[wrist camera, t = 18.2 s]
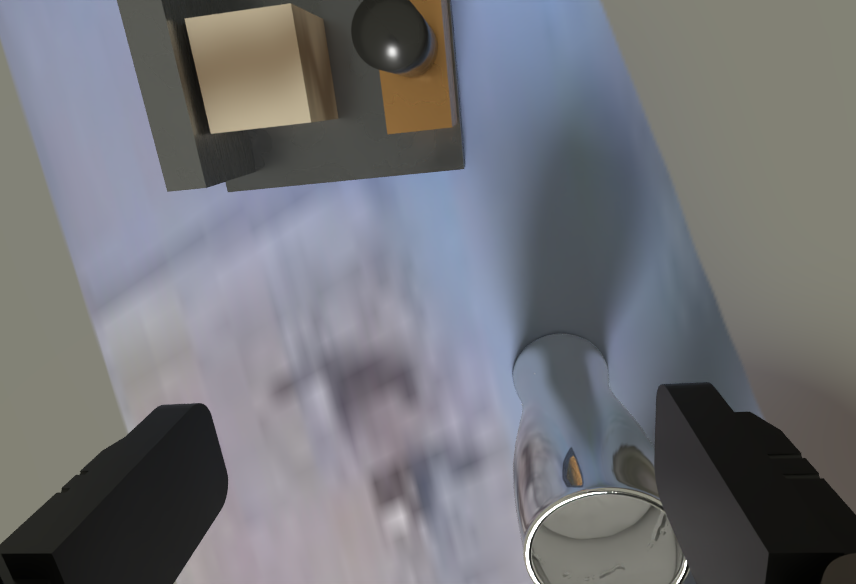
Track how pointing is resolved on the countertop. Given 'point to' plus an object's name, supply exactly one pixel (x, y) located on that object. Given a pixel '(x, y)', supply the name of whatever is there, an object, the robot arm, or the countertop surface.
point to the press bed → (281, 145)
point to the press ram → (409, 61)
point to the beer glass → (585, 475)
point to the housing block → (262, 68)
